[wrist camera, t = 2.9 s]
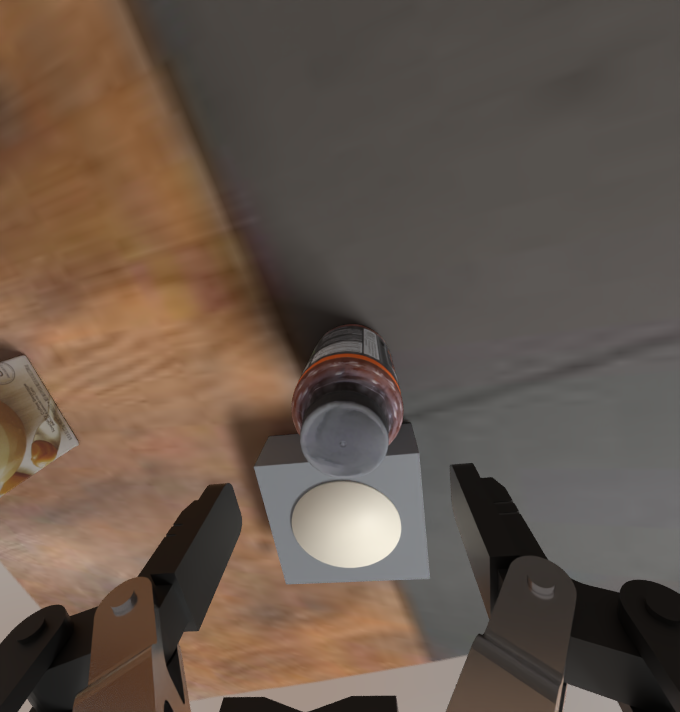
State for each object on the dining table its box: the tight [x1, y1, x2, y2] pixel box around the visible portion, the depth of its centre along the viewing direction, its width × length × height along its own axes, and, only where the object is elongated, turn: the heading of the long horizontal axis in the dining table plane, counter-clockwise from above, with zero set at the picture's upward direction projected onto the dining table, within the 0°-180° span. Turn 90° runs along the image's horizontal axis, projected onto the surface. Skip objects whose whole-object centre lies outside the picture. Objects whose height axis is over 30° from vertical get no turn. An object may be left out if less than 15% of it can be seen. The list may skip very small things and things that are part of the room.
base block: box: [254, 423, 430, 584], centre depth 27 cm, size 12×12×4 cm
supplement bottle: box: [292, 324, 404, 479], centre depth 20 cm, size 6×6×11 cm
